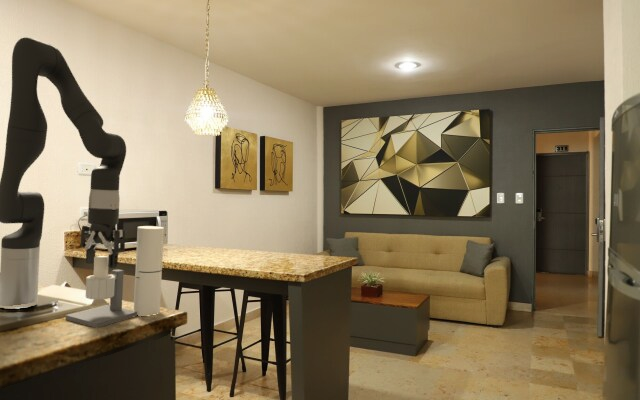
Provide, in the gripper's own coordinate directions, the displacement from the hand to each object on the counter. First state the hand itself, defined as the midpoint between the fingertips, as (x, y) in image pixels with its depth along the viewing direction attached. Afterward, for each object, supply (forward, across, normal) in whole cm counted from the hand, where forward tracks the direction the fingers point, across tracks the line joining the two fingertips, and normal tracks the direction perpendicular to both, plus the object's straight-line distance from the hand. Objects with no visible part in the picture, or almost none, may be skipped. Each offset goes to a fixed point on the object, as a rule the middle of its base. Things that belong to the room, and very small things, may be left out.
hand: (101, 265), depth 123 cm
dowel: (+8, 0, 0) cm, 8 cm away
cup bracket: (+15, 0, +1) cm, 15 cm away
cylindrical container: (+15, +6, +11) cm, 20 cm away
